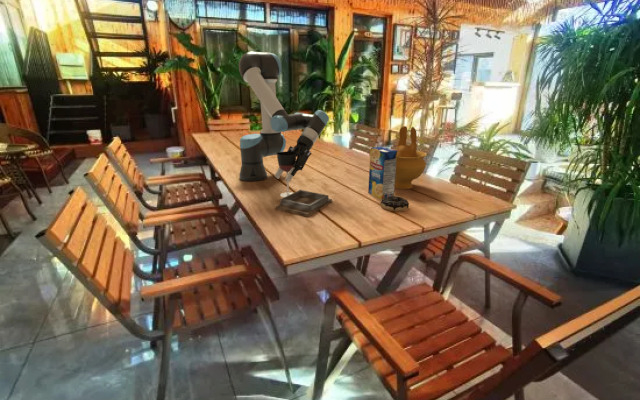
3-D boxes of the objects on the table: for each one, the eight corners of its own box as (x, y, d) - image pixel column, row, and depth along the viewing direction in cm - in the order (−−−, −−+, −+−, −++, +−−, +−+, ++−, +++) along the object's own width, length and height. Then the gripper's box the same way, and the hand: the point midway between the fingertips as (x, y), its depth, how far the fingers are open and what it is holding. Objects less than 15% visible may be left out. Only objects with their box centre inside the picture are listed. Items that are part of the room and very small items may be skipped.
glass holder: (276, 209, 140) (275, 200, 138) (302, 195, 156) (302, 188, 155) (307, 216, 132) (307, 207, 131) (332, 201, 148) (332, 193, 147)
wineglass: (279, 192, 160) (277, 151, 154) (297, 191, 161) (296, 151, 154) (278, 197, 153) (276, 155, 146) (297, 197, 154) (296, 154, 147)
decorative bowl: (373, 186, 170) (376, 126, 160) (394, 177, 185) (399, 122, 174) (410, 195, 157) (416, 131, 146) (430, 185, 171) (437, 126, 161)
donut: (388, 201, 149) (389, 193, 148) (413, 207, 142) (414, 198, 141) (376, 208, 141) (376, 199, 140) (401, 215, 134) (402, 205, 133)
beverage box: (381, 199, 150) (385, 152, 143) (368, 193, 160) (370, 147, 152) (393, 197, 153) (397, 150, 146) (379, 191, 163) (382, 146, 155)
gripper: (326, 147, 153) (300, 188, 148) (297, 141, 166) (273, 179, 161) (317, 137, 147) (290, 179, 142) (289, 132, 161) (263, 170, 156)
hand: (281, 179), depth 152 cm, fingers closed on wineglass, 7 cm apart
